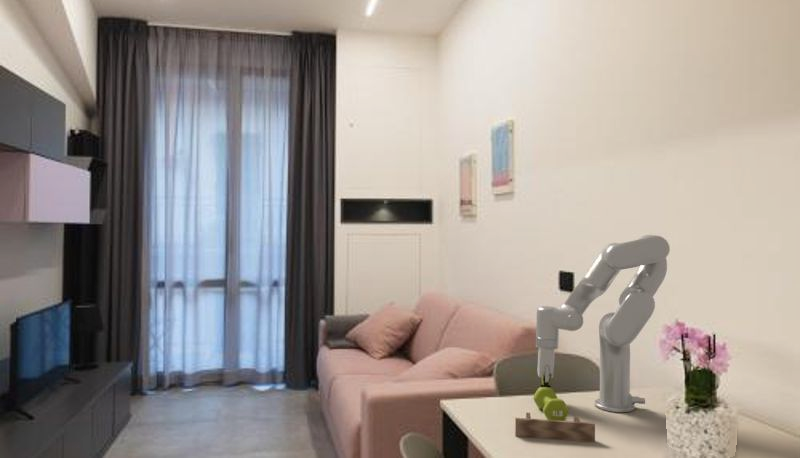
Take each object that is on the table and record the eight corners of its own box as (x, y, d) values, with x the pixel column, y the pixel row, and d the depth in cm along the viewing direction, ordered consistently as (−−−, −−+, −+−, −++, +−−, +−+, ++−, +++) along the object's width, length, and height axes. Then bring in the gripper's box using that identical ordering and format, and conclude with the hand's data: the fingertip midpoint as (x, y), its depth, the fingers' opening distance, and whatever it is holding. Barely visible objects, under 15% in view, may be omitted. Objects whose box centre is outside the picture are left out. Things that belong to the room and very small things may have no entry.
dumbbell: (570, 424, 177) (570, 401, 177) (544, 424, 177) (544, 401, 177) (556, 407, 193) (556, 386, 193) (532, 407, 193) (532, 385, 193)
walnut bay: (589, 428, 173) (589, 411, 173) (594, 441, 162) (595, 424, 162) (515, 423, 177) (515, 406, 177) (515, 436, 166) (515, 418, 166)
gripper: (534, 337, 206) (533, 388, 206) (536, 346, 191) (535, 401, 191) (556, 339, 204) (555, 390, 204) (560, 348, 190) (558, 403, 190)
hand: (545, 395), depth 198 cm, fingers closed
